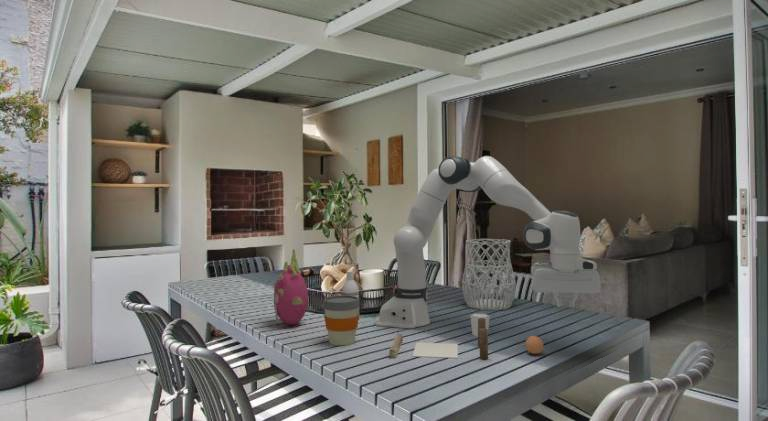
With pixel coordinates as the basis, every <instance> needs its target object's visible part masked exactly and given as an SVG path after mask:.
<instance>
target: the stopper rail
mask: <svg viewBox="0 0 768 421" xmlns="http://www.w3.org/2000/svg"><path fill="white" fill-rule="evenodd" d="M403 339H404V337H403V333H396V334H395V337H394V339H393V341H392V344H391V346H390V348H389V358H390V359H397V357H398V354H399V351H400V349H401V346H402V344H403Z"/></svg>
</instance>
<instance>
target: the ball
mask: <svg viewBox="0 0 768 421" xmlns="http://www.w3.org/2000/svg"><path fill="white" fill-rule="evenodd" d="M524 345H525V349H526V350H527V351H528V353H530V354H533V355H538V354H540V353H542V351H543V350H544V341H543V340H542V339H541V338H540V337H539V336H536V335H531V336H529V337H528V338H527V339H526V340H525V344H524Z"/></svg>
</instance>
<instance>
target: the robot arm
mask: <svg viewBox="0 0 768 421" xmlns="http://www.w3.org/2000/svg"><path fill="white" fill-rule="evenodd" d="M454 190H457V191H458V192H465V193H476V192H477V193H478V192H479V191H480V190H483V192H484V194H486V196H488V197H487V198H489V199H491V200H492V201H493V202H494V203H496V204H498V205H500V206H505V207H510V208H515V209H518V210H520V211H523V212H524V213H526V214H527V216H529V217H530V218H531V219H532V220H533V221H530V222H529V223H527V224H526V225H525V227H524V229H523V232H522V236H523V237H522V238H523V241H524V243H525V245H526V246H527V247H528V248H529V249H531V250H533V251H543V250H549V252H550V260H549V262H548V261H547V262H535V263H533V264H532V265H531V266H530V275H531V276H532V278H531V290H532V291H533V292H535V293H552V297H554V299H555V300H556V307H557V308H563V304H564V303H563V302H564V301H563V300H561V299H559V296H560V293H561V294H567V293H568V294H572V298H571V300H568V302H567V303H568V307H569V308H575V302H576V301H577V299H578V298H579V294H599V293H600V292H601V289H602V282H601V277H600V276H601V275H600V273H599V272H598V271H597V269H598V263H596V262H595V261H593V260H589V259H587V258H584V257H582V256H581V253H582V252H581V249H580V243H581V225H580V224H581V223H580V219H579V217H578V214H576V213H575V212H572V211H569V210H562V209H561V210H559V209H558V210H557V209H556V210H553V211H551V210H550V209H549V207H547V206H546V205H545V204H544V203H543V202H542V201H541V200H540V199H539V198H538V197H537V196H535V195H534V194H533V193H532V192H531V191H529V190H528V189H527V188H526V187H525V186H523V185H522V184H521V183H520V182H519V181H518V180H517V179H516V178H515V176H514V175H513V174H512V173H510V171H509V170H508V169H507V168H506V167H505V166H504V165H503V164H501V162H500V161H498V160H497V159H495V157H492V156H491V155H490V156H489V155H484V156H481V157H479V158H478V159H477V160H476V161H474V162H472V161H470V160H469V159H468V158H464V157H460V156H455V155H451V156H446V157H445V158H443V159H442V160H441V162H440V163H439V165H438V168H433V170H431V172H430V173H429V174H428V176H427V177H426V179H425V180H424V182H423V183H422V185H421V187H420V189H419V191H418V194H417V195H416V197H415V199H414V202H413V204H412V206H411V208H410V209H411V210H410V212H409V214H408V218H407V219H406V220H407V221H406V223H405V224H404V226H402V227H400V228H399V229H397V231H396V233H395V234H394V238H393V246H394V250H395V251H394V252H395V256H396V257H395V258H396V262H397V264H396V265H397V281H398V282H397V285H398V286H397V285H395V286H394V287H393V288H392V292H393V293H392V295H393V296H392V297H391V298H390V299H389V300H387V301H386V302H385V303H383V305H382V306H381V307H380V311H379V315H378V316H376V317H375V318H374V320H373V324H374V325H375V326H377V327H378V326H379V327H390V328H399V329H400V328H401V329H414V328H417V327H423V326H427V325H429V324H431V320H430V315H429V310H428V304H427V301H428V288H427V285H426V284H427V281H426V280H427V277H426V276H427V274H426V272H427V270H426V265H425V258H424V256H425V255H424V248H425V246H426V245H427V244H428V241H429V239H430V237H431V234H432V232H433V229H434V226H435V224H436V222H437V219H438V218H439V216H440V213H441V211H442V210H443V208H444V205H445V204H446V201H447V199H448V198H449V195H450V193H452V192H453V191H454Z"/></svg>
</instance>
